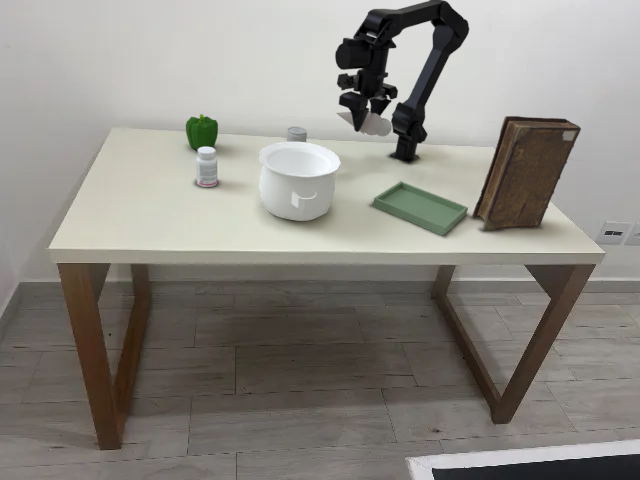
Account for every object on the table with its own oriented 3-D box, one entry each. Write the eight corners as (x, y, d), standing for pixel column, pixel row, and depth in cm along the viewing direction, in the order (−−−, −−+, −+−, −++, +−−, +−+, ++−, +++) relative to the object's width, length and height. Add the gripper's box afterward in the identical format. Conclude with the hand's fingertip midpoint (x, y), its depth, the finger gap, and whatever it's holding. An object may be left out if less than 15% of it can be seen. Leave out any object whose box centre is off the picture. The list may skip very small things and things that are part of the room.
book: (533, 216, 121) (572, 117, 107) (548, 232, 115) (591, 129, 102) (469, 215, 118) (501, 113, 104) (482, 231, 112) (517, 125, 98)
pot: (254, 184, 120) (256, 136, 113) (324, 186, 123) (330, 139, 116) (260, 233, 101) (262, 179, 95) (342, 233, 105) (350, 181, 98)
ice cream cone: (330, 127, 130) (385, 144, 131) (334, 119, 123) (391, 137, 125) (337, 106, 130) (391, 123, 131) (340, 97, 124) (397, 114, 125)
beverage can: (305, 173, 128) (310, 129, 121) (298, 181, 124) (303, 135, 117) (288, 169, 129) (291, 125, 122) (281, 176, 125) (284, 131, 118)
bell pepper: (192, 140, 138) (191, 105, 132) (221, 145, 137) (221, 109, 132) (181, 151, 131) (179, 115, 125) (211, 156, 130) (211, 119, 125)
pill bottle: (221, 184, 118) (221, 151, 113) (204, 189, 115) (204, 155, 110) (209, 176, 120) (208, 144, 116) (192, 181, 117) (191, 148, 113)
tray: (399, 188, 126) (400, 181, 125) (466, 215, 118) (468, 207, 117) (372, 205, 117) (374, 198, 116) (443, 235, 109) (445, 227, 107)
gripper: (367, 55, 131) (358, 112, 139) (324, 64, 118) (318, 127, 126) (404, 65, 125) (392, 124, 134) (363, 75, 112) (353, 140, 121)
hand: (364, 128), depth 129 cm, fingers closed on ice cream cone, 7 cm apart
